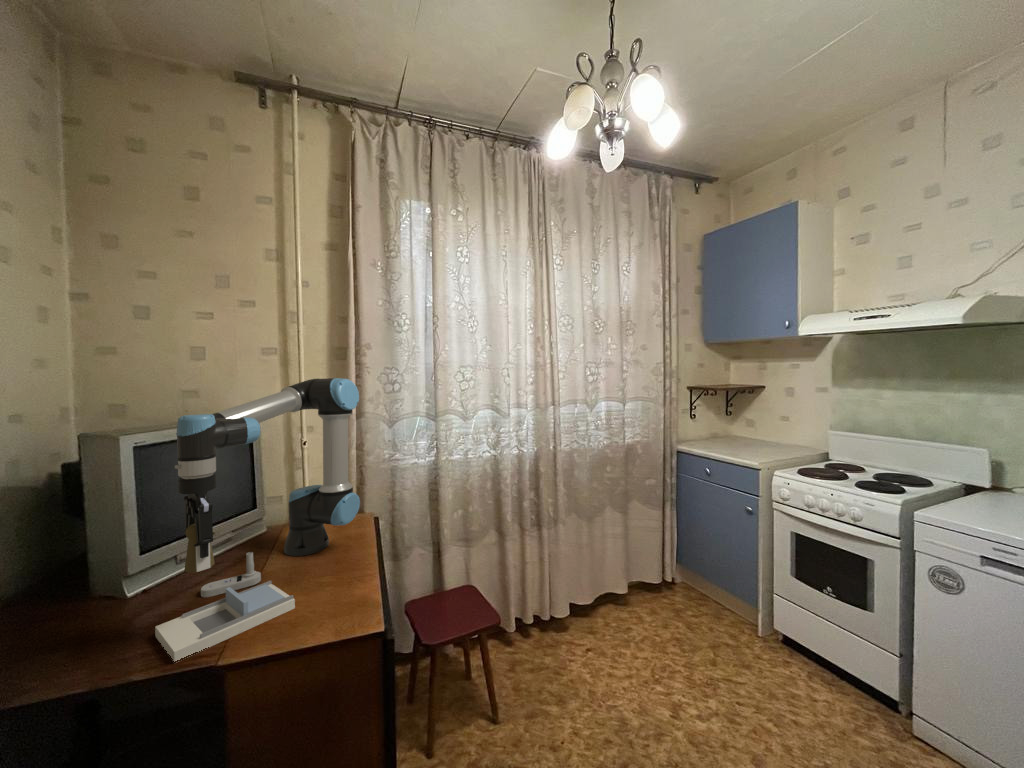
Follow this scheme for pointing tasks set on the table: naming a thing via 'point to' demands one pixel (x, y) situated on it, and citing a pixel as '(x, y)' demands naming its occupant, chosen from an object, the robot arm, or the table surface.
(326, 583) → the table surface
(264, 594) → the panel
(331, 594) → the table surface
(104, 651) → the table surface
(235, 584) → the electronic device
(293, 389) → the robot arm
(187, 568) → the cork
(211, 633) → the socket plate
